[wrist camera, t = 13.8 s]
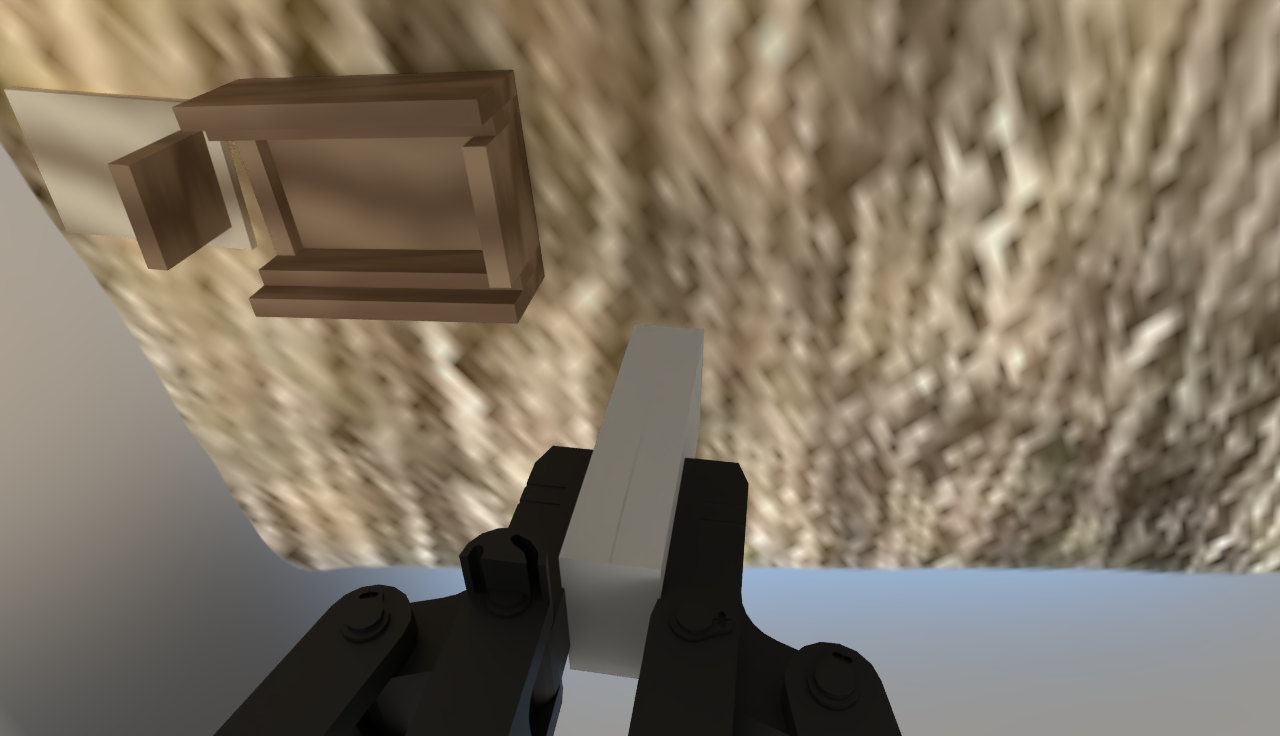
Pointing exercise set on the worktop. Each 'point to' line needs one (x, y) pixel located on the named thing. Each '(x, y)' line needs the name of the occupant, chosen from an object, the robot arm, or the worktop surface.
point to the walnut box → (385, 193)
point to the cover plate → (134, 172)
